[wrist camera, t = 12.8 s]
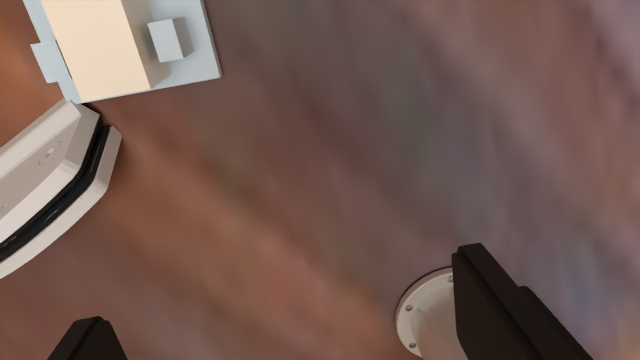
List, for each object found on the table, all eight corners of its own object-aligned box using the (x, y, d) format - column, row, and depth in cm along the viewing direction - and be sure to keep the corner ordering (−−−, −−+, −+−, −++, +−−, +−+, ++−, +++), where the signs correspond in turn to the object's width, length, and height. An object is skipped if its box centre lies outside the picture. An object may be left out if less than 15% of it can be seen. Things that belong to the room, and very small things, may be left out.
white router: (77, 86, 33) (53, 159, 26) (125, 124, 36) (116, 199, 29) (-64, 199, 35) (-123, 294, 28) (-8, 225, 39) (-47, 317, 31)
